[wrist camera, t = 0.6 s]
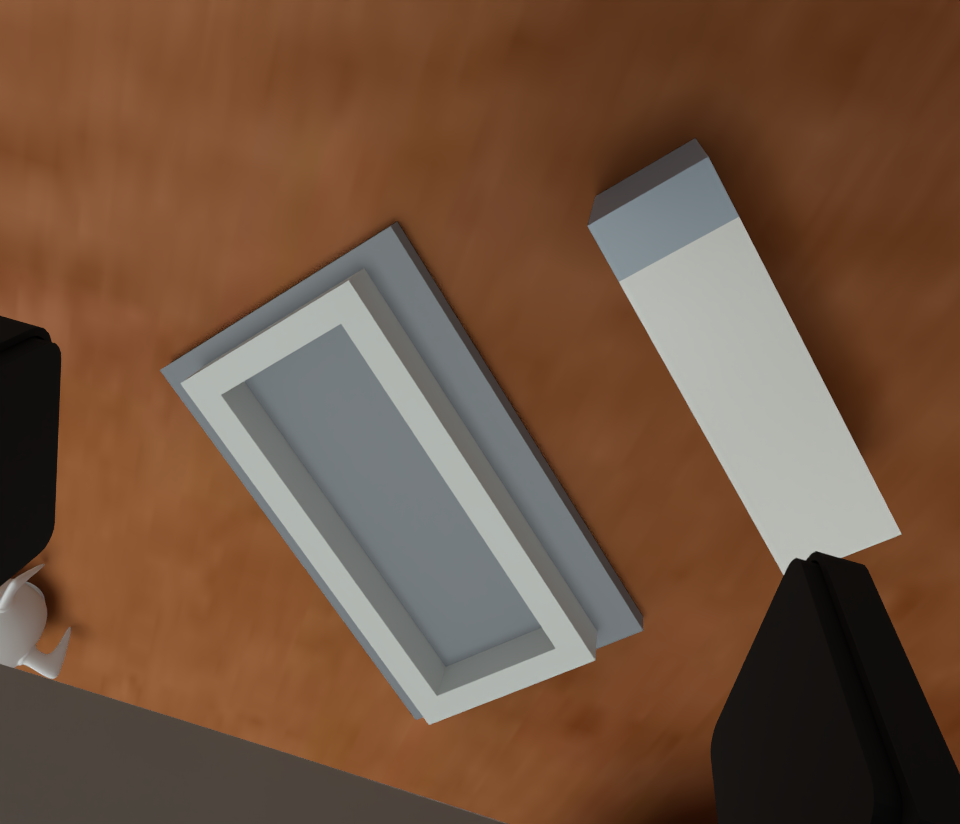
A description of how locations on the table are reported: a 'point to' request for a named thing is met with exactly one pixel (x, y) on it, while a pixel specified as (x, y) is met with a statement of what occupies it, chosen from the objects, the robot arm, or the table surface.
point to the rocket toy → (27, 627)
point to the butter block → (738, 358)
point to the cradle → (406, 482)
